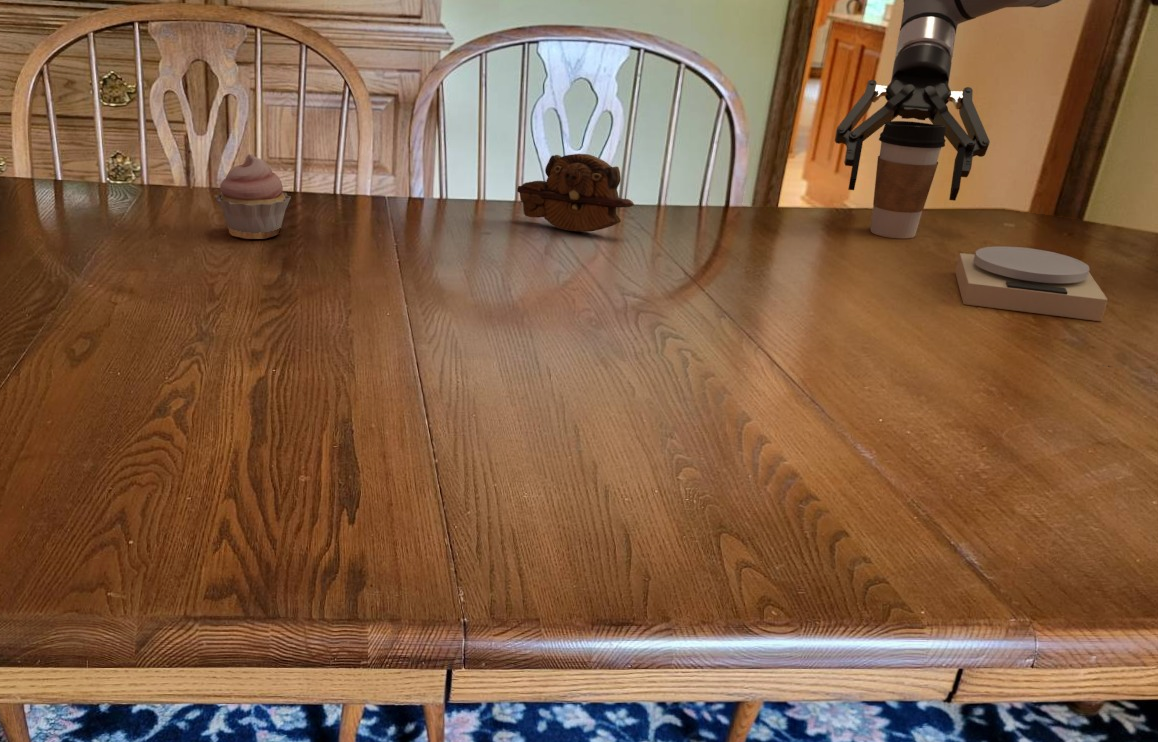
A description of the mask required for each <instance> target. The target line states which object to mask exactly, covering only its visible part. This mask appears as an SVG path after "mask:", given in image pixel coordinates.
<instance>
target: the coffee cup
mask: <svg viewBox="0 0 1158 742" xmlns="http://www.w3.org/2000/svg"><path fill="white" fill-rule="evenodd" d="M945 127H946V126H942V125H934V124H933V123H928V122H927V123H926V122H919V121H906V120H892V121H890V122H886V123H885V125H883V128H882V132H880V134H879V138H878V141H879V142H880V148H879V149H880V150H879V155H878V156H877V163H876V171H875V173H876V174H875V182H874V192H873V203H872V205H873V207H872V214H871V221H870V232H871V234H874V235H876V236H879V237H883V238H889V239H899V240H901V239H903V240H905V239H912V238H913V239H914V238H915V236H916V234H917V232H918V227H919V224H920V221H921V218H922V213H923V211H924V209H925V207H926V206H925V205H926V202H927V200H928V196H929V194H930V190H931V187H932V184H933V181H934V177H935V174H936V171H937V168H938V166H939V161H938V160H939V157H940V153H941V150H942V148H944V147H946V139H945V138H946V137H945Z"/></svg>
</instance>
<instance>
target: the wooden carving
mask: <svg viewBox="0 0 1158 742" xmlns="http://www.w3.org/2000/svg"><path fill="white" fill-rule="evenodd" d="M544 171H545V175H546V177H547V178H546V181H545V180H533V181H528V182H527V181H526V182H524V183H523V184H521V185H518V186H517V191H516V192H517V193H518V194H519V199H520V201H521V202H522V210H523V214H524V216H525V217H528V218H544V220H545V221H547V222H548V223H549V224H551V225H552V226H554V227H556V228H559V229H561V230H564V231H570V232H583V233H584V232H585V233H586V232H594V231H595V232H596V231H600V230H604V229H607V228H610V227H613V226H616V225H617V224H620V223H621V221H622V219H621V218H620V217H619V216H618V214H617V208H631V207H633V206H634V205H635V203H634V202H633V200H631V199H629V198H621V197H620V195H619V191H618V187H619V185H620V184H621V181H622V179H621V171H620V168H619V166H612V165H610V164H609V163H608V162H606V161H605V160H604V159H602V158H599V157H598V156H595V155H592V154H588V153H575V154H567V155H563V156H562V155H560V154H555V155H551V156H550V157H549V159H548V162H547V164H546V166H545V169H544Z"/></svg>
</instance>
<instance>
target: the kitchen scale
mask: <svg viewBox="0 0 1158 742" xmlns="http://www.w3.org/2000/svg"><path fill="white" fill-rule="evenodd" d="M1090 269H1091V268H1090V266H1089V265H1088V264H1087V263H1086V262H1084V261H1082V260H1080V259H1077V258H1075V257H1073V256H1068V255H1066V254H1063V253H1062V254H1061V253H1057V252H1055V251H1048V250H1043V249H1037V248H1031V247H1022V246H1020V247H1019V246H1005V245H1003V246H1002V245H1001V246H1000V245H999V246H987V247H986V246H985V247H981V248H978V249H977V250H975V252H974V254H971V253H963V252H960V253H959V255H958V258H957V263H956V267H955V270H954V271H955V272H954V273H955V277H956V282H957V285H958V289H959V292H960V296H961V300H962V304H963V305H965V306H972V307H980V308H981V307H982V308H990V309H996V310H997V309H998V310H1004V311H1005V310H1006V311H1013V312H1014V311H1015V312H1020V313H1021V312H1023V313H1028V314H1029V313H1030V314H1037V315H1046V316H1054V317H1062V318H1070V319H1079V320H1085V321H1094V322H1102V320H1103V318H1104V314H1105V311H1106V308H1107V304H1108V301H1109V299H1108V298H1107V296H1106V294H1105V293H1104V292H1103V290H1102V289H1101V287H1100V286H1099V284H1098V283H1097V282H1096V280H1095V279H1094V277H1093V276H1092V274H1091V272H1090Z"/></svg>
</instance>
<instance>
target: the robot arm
mask: <svg viewBox="0 0 1158 742" xmlns="http://www.w3.org/2000/svg"><path fill="white" fill-rule="evenodd" d="M902 2H903V9H902V15H901V21H900V22H901V23H900V28H899V32H898V37H897V43H896V49H895V53H894V54H895V56H894V61H893V67H892V73H891V78H890V83H889V84H888V85H883V84H881V85H880V84H877V80H875V79H870V80H868V81H867V83H866V87H865V90H864V93H863V94H862V95H861V96H860V98H859V99H858V101H857V102H856V103H855V104H854V105H853V107H852V108H851V109H850V111H849V112H848V113H847V114H846V115H845V117H844V118H843V120H842V121H841V122H840V123H839V125H838V126H837V127H836V130H835V136H834V142H835V143H836V144H838V145H839V144H844V145H845V146H846V150H845V156H844V161H843V162H844V165H845V166H846V167H851V171H850V178H849V183H848V188H847V189H848V191H855V188H856V183H857V179H858V172H859V166H860V161H861V155H862V149H863V143H864V141H865V140H867V139H868V138H869V137H871V136H872V135H873V134H875V133H876V132H878V130H880V129H881V128H882V127H884V126H885V123H886V122H890V121H894V120H895V119H896V118H897V117H898V116H899V117H900V118H901V119H902V120H903V119H905V120H908V119H915V120H918V121H926V120H927V119H928V120H929V121H930V122H931V124H934V125H942V126H946V127H945V137H944V138H946V139H947V141H948V142H949V144H950V145H951V146H952V147H953V148H954V150H955V151H956V152H957V153H956V155H955V159H954V163H953V170H952V177H951V178H952V179H951V185H950V193H949V199H948V200H949V201H956V200H957V197H958V194H959V192H960V188H961V182H962V178H968V176H969V175H970V173H971V169H972V167H973V159H974V157H976V156H977V157H978V158H979V157H980V158H982V157H984V156H985V155H986V154H987V152H988V148H989V146H990V143H991V141H990V139H989V136H988V134H987V132H986V130H985V129H986V128H985V127H984V125H983V122H982V120H981V118H980V116H979V113H978V111H977V107H976V105H975V104H974V101H973V95H974V94H973V93H974V90H973V88H972V87H970V86H965V87H964V88H963V89H962V91H961V90H951V88H950V86H949V85H950V84H949V83H950V82H949V81H950V75H951V69H952V59H953V56H954V50H955V42H956V34H957V29H958V25H959V24H962V23H966V22H968V21H971V20H974V19H976V18H979V17H982V16H984V15H985V16H986V15H988V14H990V13H993V12H996V11H999V10H1002V9H1006V8H1024V7H1025V8H1029V7H1030V8H1035V9H1036V8H1038V9H1039V8H1040V9H1041V8H1047V7H1049V6H1052V5H1055V4H1057V3H1060V2H1062V0H903V1H902ZM882 97H884V98H885V100H886V102H885V103H884V105H883V106H882V107H881V108H879V109H878V110H877V111H876V112H875V113H872V114H871V116H869V117H868V118H867V119H865V120H864V121H863V122H861V123H860V124H859V125H858V123H859V122H860V121H861V120H862V119H863V117H864V116H865V115H866V114H867V112H868V111H869V109H870V108H871V106H872V104H873V103H876V102H877V101H879V99H880V98H882ZM949 102H951V103H952V104H953V106H954V107H955V110H958V113H959V116H960V119H961V122H962V124H963V126H964V129H963V127H962V126H961V125H960V123H959V122H958V121H957V119H956V118H955V117H954V116H953V114H952V113H951V112H950V111H949V108H948V105H947V104H949ZM857 125H858V126H857Z"/></svg>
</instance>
